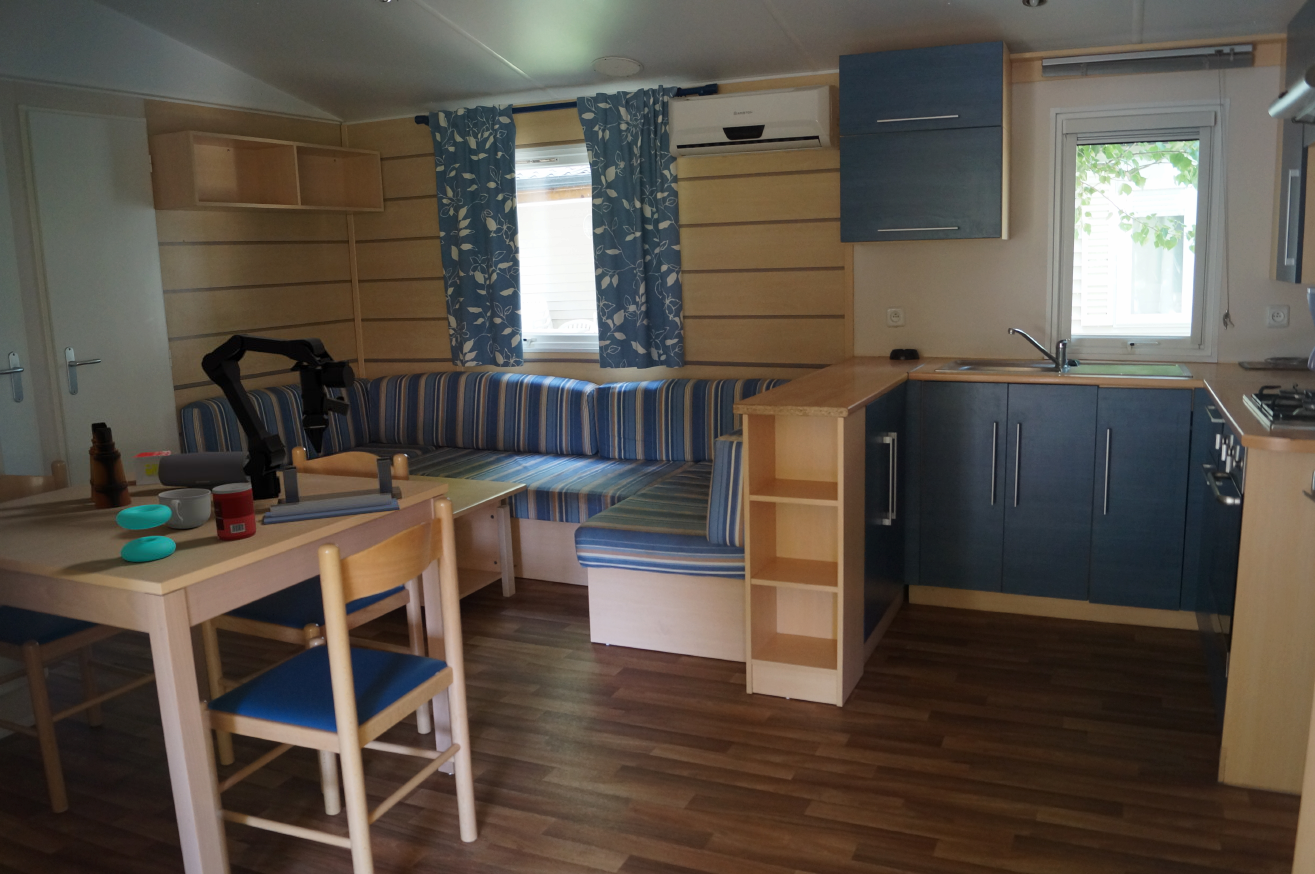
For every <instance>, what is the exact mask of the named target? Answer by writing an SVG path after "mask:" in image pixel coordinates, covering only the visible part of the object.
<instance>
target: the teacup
mask: <svg viewBox="0 0 1315 874" xmlns="http://www.w3.org/2000/svg"><path fill="white" fill-rule="evenodd" d="M211 494H212V491H211V490H207V489H194V488H192V489H189V488H180V489H179V488H178V489H172V490H167V491H163V492H160V493H158V495H157V498H158V505H165V506H167V507H169V508H170V510H171V517H170V519H169V520H168V521H167V522H165V523H164V524H166V525H167V526H168V527H170V528H171V529H178V530H181V529H192V528H198V527H200V526H202V525H204V523H205V522H206V521H208V520H209V518H210V516H211V511H212V508H211V507H212V503H211V501H212V500H211V499H212V497H211Z"/></svg>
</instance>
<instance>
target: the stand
mask: <svg viewBox="0 0 1315 874" xmlns="http://www.w3.org/2000/svg"><path fill="white" fill-rule="evenodd" d="M375 460H376V471H377V479H378V487H376V488H369V489H360V490H359V489H358V490H348V491H341V492H331V493H330V492H329V493H321V494H311V495H301V496H300V489H299V478H298V470H297V465H293V466H292V465H291V466H289V465H288V466H283V468H282V477H283V478H282V479H283V487H284V497H283V498H282V497H281V498H278V499H277V502H276V503H277V504H287V503H296V502H306V501H315V500H325V499H334V498H343V497H353V496H362V495H372V494H381V493H391V499H394V498H396V499H403V493H402V490H401V487H400V485H395V486H393V479H392V478H393V477H392V467H391V460H390V456H387V457H386V456H385V457H376V459H375ZM277 504H276V505H277Z"/></svg>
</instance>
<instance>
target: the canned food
mask: <svg viewBox="0 0 1315 874" xmlns="http://www.w3.org/2000/svg"><path fill="white" fill-rule="evenodd" d="M211 490H212V491H211V494H212V504H213V509H214V518H215V528H216V535H217V537H218V539H219V540H221V541H225V542H226V541H239V540H243V539H248V538H251V537H252V536H254V535H256V532H257V524H256V523H257V522H256V513H255V512H256V511H255V506H254V499H253V494H252V487H251V483H250V482H249V483H233V484H226V485H221V486H217V487H215V488H213V489H211Z"/></svg>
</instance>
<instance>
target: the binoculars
mask: <svg viewBox="0 0 1315 874" xmlns="http://www.w3.org/2000/svg"><path fill="white" fill-rule="evenodd" d="M91 434H92V435H91V436H92V438H91V441H90V442H91V443H92V446H90V447H89V449H88V454H89V469H90V478H89V484H90V502H92V503H94V508H95V509H97V510H110V509H117V508H122V507H126V506H129V505H132V499H131V495H130V492H129V488H128V486H129V483H128V481H127V479H126V475H125V470H124V466H123V462H122V458H121V457H122V454H121V451H119V449H117V447H116V446H115V445H116V442H115V441H114V439H113V432H112V428H111V427H108V425H107V423H106V422H104V421H103V422H101V421H100V422H95V423H91Z"/></svg>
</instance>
